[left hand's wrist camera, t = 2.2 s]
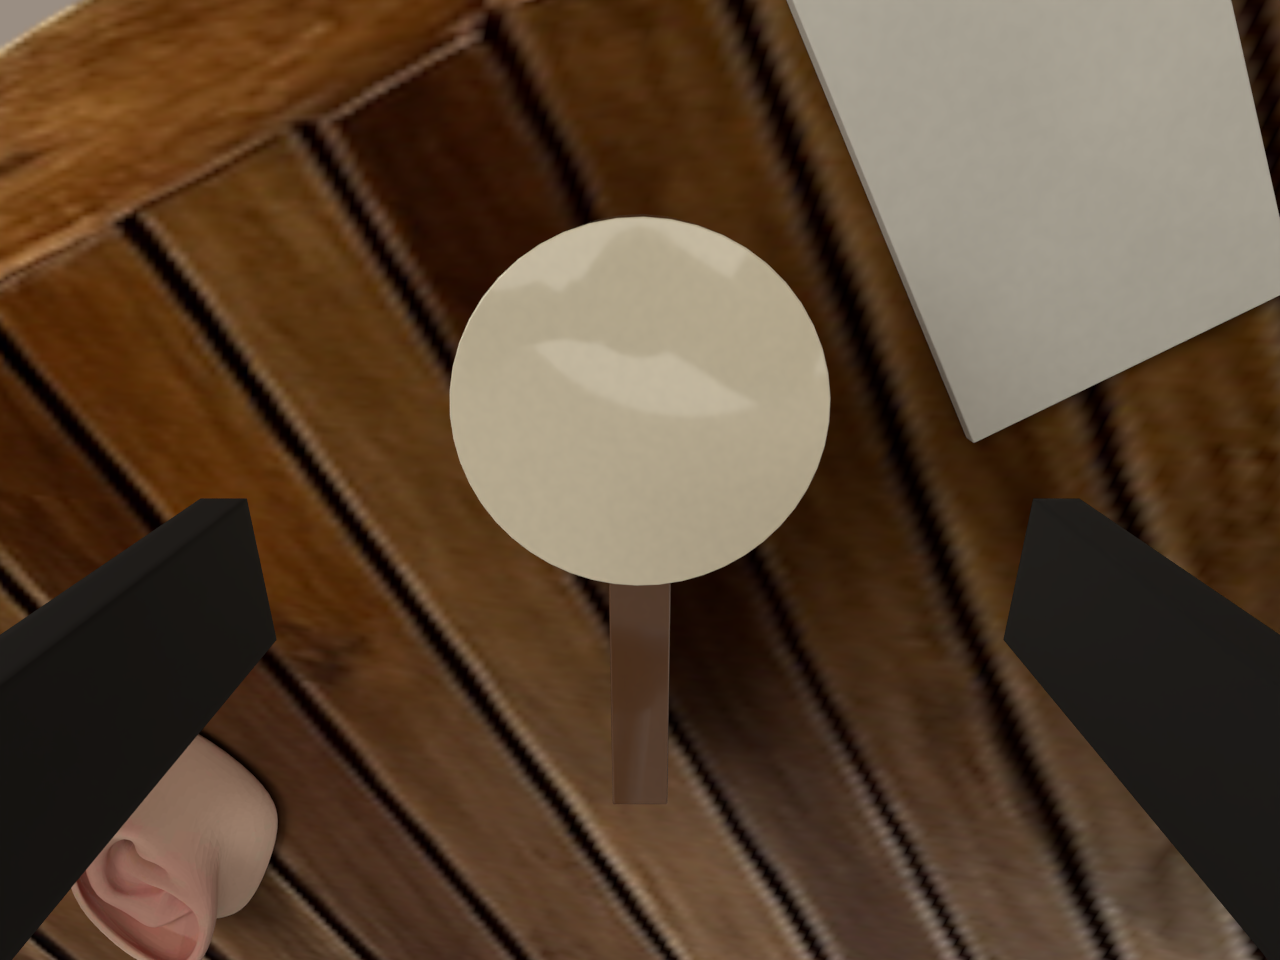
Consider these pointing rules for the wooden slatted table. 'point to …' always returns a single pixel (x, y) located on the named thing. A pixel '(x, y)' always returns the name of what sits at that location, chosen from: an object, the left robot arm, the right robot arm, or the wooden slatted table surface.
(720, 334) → the cap
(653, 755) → the orange handled cylinder
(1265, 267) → the grey mat
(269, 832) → the anatomical model
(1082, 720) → the left robot arm
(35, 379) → the wooden slatted table surface
